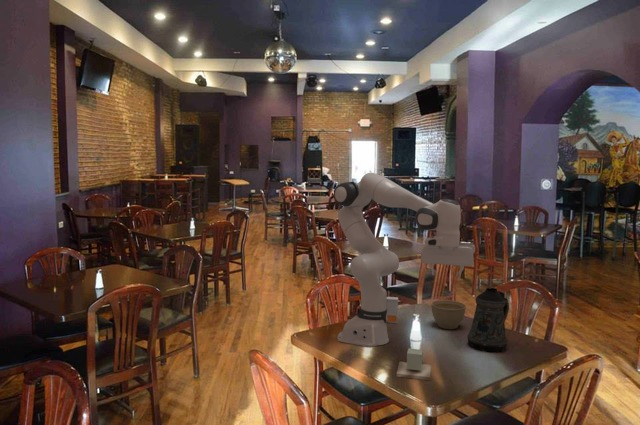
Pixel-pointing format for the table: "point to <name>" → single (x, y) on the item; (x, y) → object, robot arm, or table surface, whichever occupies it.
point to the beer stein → (489, 322)
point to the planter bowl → (448, 313)
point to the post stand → (414, 372)
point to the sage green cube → (414, 359)
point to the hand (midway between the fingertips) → (446, 275)
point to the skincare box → (392, 309)
